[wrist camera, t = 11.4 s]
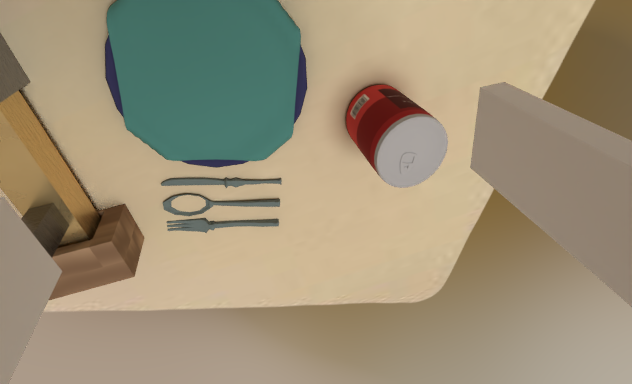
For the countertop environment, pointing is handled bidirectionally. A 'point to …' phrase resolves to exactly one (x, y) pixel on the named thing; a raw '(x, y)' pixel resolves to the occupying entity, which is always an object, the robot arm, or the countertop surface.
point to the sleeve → (10, 72)
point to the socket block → (100, 254)
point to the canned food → (396, 135)
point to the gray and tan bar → (41, 180)
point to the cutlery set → (207, 86)
